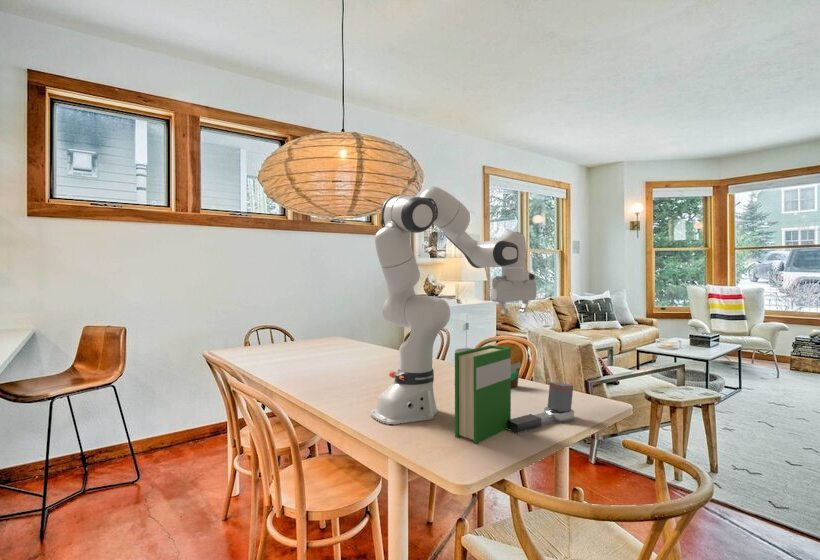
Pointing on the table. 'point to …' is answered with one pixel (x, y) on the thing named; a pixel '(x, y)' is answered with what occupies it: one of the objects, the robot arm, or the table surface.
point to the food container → (515, 374)
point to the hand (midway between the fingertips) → (513, 313)
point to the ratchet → (539, 420)
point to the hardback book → (482, 392)
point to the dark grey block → (560, 396)
